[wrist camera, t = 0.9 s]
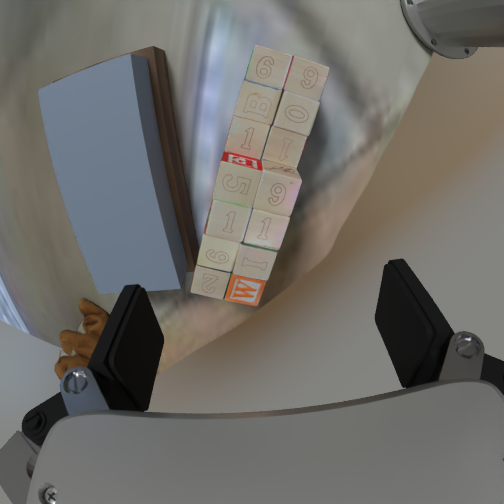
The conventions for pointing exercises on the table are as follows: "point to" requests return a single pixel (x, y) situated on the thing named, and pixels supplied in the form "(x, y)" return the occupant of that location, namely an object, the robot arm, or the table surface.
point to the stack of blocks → (258, 175)
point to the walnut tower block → (169, 148)
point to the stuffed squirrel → (81, 338)
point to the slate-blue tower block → (114, 175)
